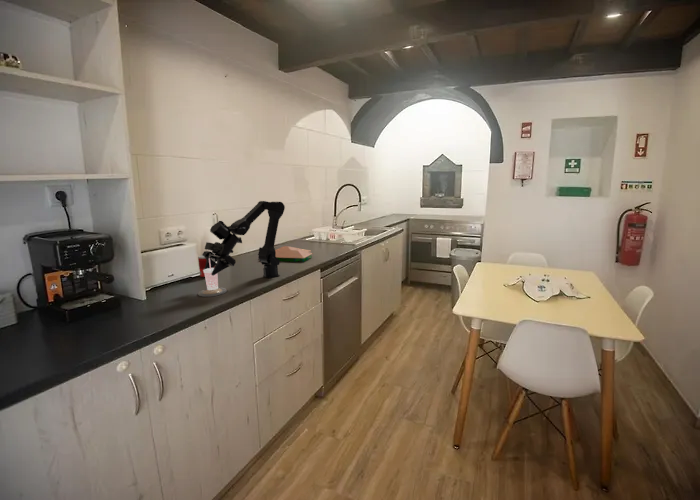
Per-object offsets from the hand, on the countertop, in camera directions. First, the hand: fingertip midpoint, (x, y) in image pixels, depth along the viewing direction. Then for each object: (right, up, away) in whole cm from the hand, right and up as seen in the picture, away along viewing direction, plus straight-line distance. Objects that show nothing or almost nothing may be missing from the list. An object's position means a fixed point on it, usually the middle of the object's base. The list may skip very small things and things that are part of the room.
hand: (208, 274), depth 158 cm
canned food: (-13, -3, +33) cm, 36 cm away
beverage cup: (+1, -7, +2) cm, 7 cm away
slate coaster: (+1, -9, +3) cm, 9 cm away
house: (+22, +5, +74) cm, 78 cm away
